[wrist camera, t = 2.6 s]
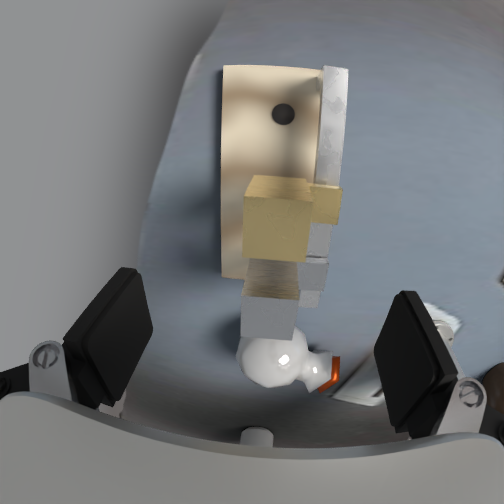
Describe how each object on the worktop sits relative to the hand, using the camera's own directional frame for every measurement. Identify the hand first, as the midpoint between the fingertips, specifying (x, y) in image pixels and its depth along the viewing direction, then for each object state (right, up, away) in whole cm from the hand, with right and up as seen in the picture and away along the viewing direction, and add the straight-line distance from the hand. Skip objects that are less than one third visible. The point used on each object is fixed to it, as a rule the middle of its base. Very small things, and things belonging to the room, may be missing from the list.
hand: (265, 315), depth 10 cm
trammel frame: (+4, +9, +18) cm, 20 cm away
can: (+1, -40, +46) cm, 61 cm away
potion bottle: (+5, -10, +30) cm, 32 cm away
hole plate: (+2, +10, +19) cm, 22 cm away
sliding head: (+4, +9, +17) cm, 19 cm away
